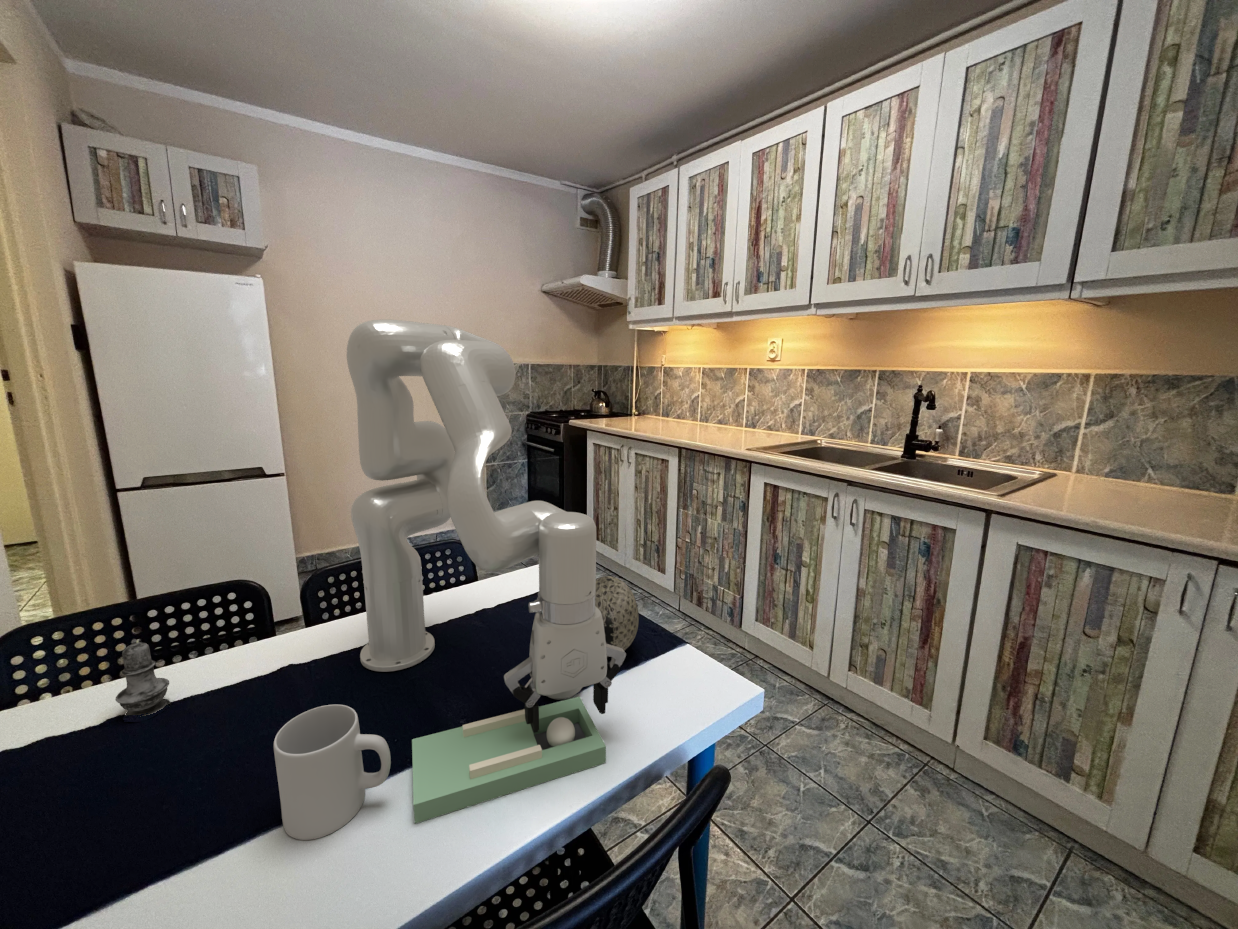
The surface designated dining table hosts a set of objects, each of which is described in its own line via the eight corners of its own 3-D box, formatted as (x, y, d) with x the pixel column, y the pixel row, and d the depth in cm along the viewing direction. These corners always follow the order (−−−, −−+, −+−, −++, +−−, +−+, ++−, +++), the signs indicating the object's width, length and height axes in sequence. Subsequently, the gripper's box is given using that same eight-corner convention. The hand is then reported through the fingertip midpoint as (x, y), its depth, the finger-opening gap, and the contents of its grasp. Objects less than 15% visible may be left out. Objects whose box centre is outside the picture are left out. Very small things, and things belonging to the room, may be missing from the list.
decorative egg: (635, 635, 98) (637, 565, 96) (639, 671, 87) (642, 592, 84) (577, 635, 98) (577, 565, 95) (573, 671, 87) (574, 592, 84)
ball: (548, 743, 70) (538, 722, 69) (572, 727, 72) (564, 706, 71) (557, 762, 67) (547, 740, 66) (583, 744, 68) (574, 723, 67)
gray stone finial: (180, 705, 76) (168, 634, 74) (131, 729, 71) (116, 654, 68) (161, 693, 78) (148, 625, 76) (111, 716, 73) (96, 643, 71)
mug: (267, 845, 54) (255, 759, 52) (305, 781, 63) (296, 705, 60) (381, 834, 56) (374, 750, 54) (403, 774, 64) (398, 699, 62)
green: (413, 756, 67) (411, 731, 66) (579, 711, 76) (579, 689, 76) (414, 824, 57) (412, 796, 56) (605, 762, 67) (606, 738, 66)
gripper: (508, 630, 59) (511, 753, 62) (637, 606, 66) (634, 718, 69) (497, 603, 66) (500, 715, 69) (615, 583, 73) (613, 686, 76)
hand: (567, 716), depth 69 cm, fingers open, 9 cm apart
